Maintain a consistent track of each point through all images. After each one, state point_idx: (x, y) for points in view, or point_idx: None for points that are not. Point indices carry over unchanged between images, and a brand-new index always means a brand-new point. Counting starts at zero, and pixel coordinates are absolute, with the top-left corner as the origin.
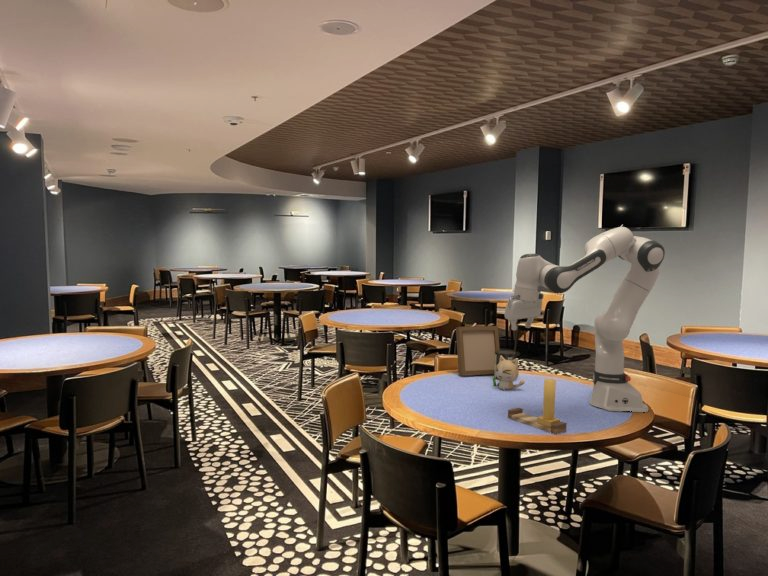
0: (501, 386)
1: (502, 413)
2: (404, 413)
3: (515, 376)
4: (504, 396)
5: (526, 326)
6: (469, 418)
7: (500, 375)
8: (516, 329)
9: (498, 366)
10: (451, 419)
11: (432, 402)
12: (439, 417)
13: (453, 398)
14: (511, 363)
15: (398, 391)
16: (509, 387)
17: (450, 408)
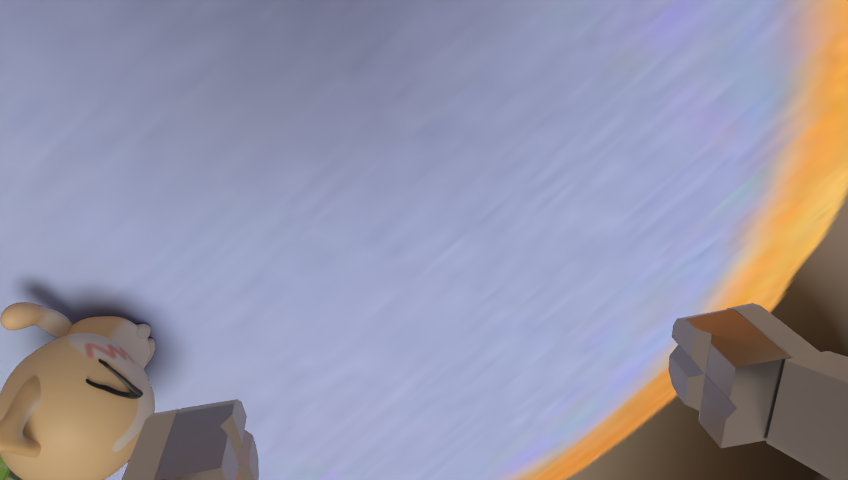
0: (149, 346)
1: (481, 26)
2: (794, 245)
3: (68, 344)
4: (226, 245)
5: (247, 455)
6: (679, 57)
7: (151, 388)
8: (708, 314)
9: (133, 448)
10: (748, 91)
11: (595, 308)
12: (755, 141)
13: (478, 316)
14: (52, 430)
15: (574, 449)
16: (115, 319)
17: (610, 215)
